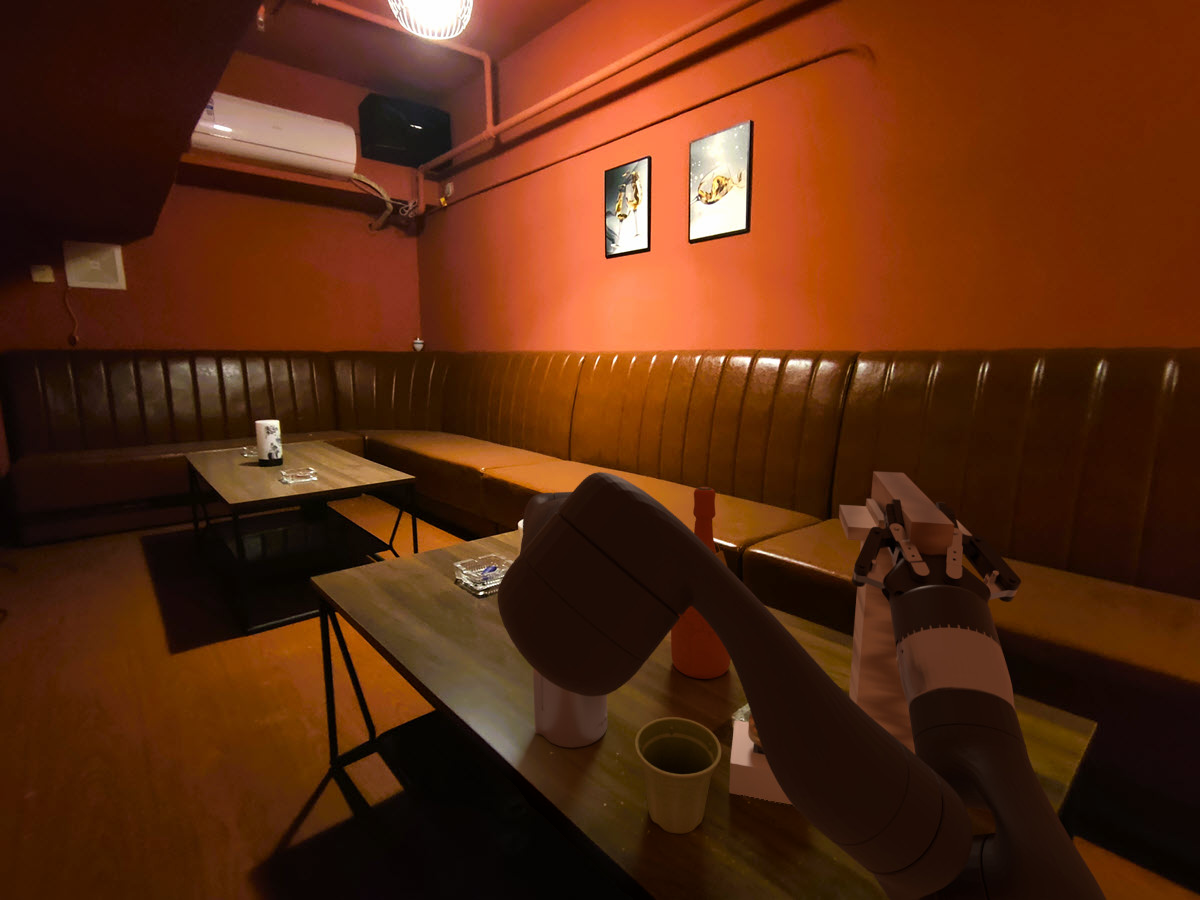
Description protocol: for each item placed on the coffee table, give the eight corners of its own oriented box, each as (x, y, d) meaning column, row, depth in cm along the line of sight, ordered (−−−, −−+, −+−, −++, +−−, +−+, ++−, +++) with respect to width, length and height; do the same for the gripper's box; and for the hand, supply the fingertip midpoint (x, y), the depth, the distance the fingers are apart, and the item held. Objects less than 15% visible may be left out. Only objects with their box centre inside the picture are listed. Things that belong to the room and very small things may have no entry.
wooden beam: (908, 557, 54) (911, 521, 54) (871, 497, 75) (873, 471, 74) (950, 560, 53) (954, 524, 53) (901, 499, 74) (903, 472, 73)
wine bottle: (685, 687, 89) (688, 498, 83) (661, 654, 98) (663, 482, 93) (742, 677, 91) (749, 492, 86) (714, 646, 101) (719, 478, 95)
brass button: (746, 763, 69) (747, 729, 68) (748, 739, 73) (749, 707, 72) (785, 771, 67) (787, 736, 67) (784, 746, 71) (786, 713, 71)
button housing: (729, 793, 68) (730, 762, 67) (733, 747, 75) (734, 720, 75) (801, 807, 66) (803, 776, 65) (798, 759, 73) (800, 731, 72)
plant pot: (708, 780, 70) (710, 715, 68) (728, 846, 61) (730, 774, 59) (631, 782, 70) (631, 718, 68) (639, 850, 60) (639, 777, 59)
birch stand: (830, 782, 69) (849, 517, 63) (824, 734, 78) (840, 497, 72) (942, 803, 66) (973, 526, 60) (923, 751, 74) (949, 503, 68)
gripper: (1069, 644, 43) (1006, 483, 55) (860, 620, 47) (846, 475, 59) (1035, 695, 47) (984, 536, 60) (849, 669, 51) (837, 525, 64)
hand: (916, 506), depth 59 cm, fingers closed on wooden beam, 3 cm apart
